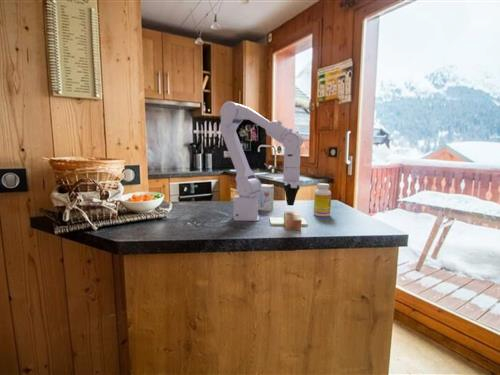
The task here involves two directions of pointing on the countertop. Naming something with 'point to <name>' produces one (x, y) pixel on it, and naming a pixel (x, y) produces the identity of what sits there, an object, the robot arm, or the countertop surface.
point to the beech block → (292, 220)
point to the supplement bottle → (322, 200)
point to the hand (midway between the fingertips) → (290, 205)
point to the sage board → (280, 221)
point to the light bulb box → (265, 197)
